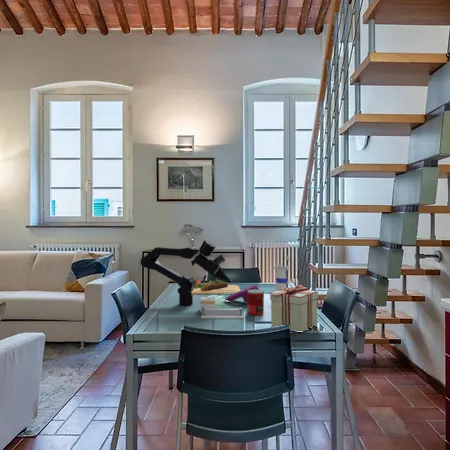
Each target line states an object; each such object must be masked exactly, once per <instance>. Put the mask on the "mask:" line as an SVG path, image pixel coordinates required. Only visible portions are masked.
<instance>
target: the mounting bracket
mask: <svg viewBox="0 0 450 450" xmlns="http://www.w3.org/2000/svg"><path fill="white" fill-rule="evenodd" d="M252 289H257V290H260V289H259V287H258V285H257V284H256V283H255V284H252V285H250V286H248V287H246V288H244V289H240V291H239V292H237V293H234V294H232V295H229V296H226V297H225V298H224V300H225V301H226V300H228V301H231V302H233V301H235V300H237V299H240V298H242V300H243V302H244V303H245V302H247V292H248V290H252Z"/></svg>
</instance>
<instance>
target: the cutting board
mask: <svg viewBox="0 0 450 450" xmlns="http://www.w3.org/2000/svg"><path fill="white" fill-rule="evenodd" d="M195 281H196V286H195V288H193V291H191V292H192V295H193V296H194V295H201V296H203V295H208V296H209V295H210V294H224V293H237V292H239V291H241V289H240V286H239V285H236V284H229V283H228V282H224V281H220V280H217V279H214V281H213V280H209V281H208V282H207V283H204V282H203V283H202V282H201V281H200V280H199V279H195Z"/></svg>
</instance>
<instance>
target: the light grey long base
mask: <svg viewBox="0 0 450 450" xmlns="http://www.w3.org/2000/svg"><path fill="white" fill-rule="evenodd" d="M243 316H244V315H243V308H242V306H241V307H239V308H215V309H205V312H204V307H202V312H201V315H200V319H244V317H243Z"/></svg>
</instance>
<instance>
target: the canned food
mask: <svg viewBox="0 0 450 450" xmlns="http://www.w3.org/2000/svg"><path fill="white" fill-rule="evenodd" d="M264 294H265V291H264V290H261V289H259V290H257V289H252V290H248V292H247V304H246V307H247V308H246V310H247V311H246V313H247V314H248V315H250V316H252V317H253V316H254V317H257V316H263V315H264V312H265V311H264V307H265V306H264V305H265V302H264V301H265V297H264V296H265V295H264Z"/></svg>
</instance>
